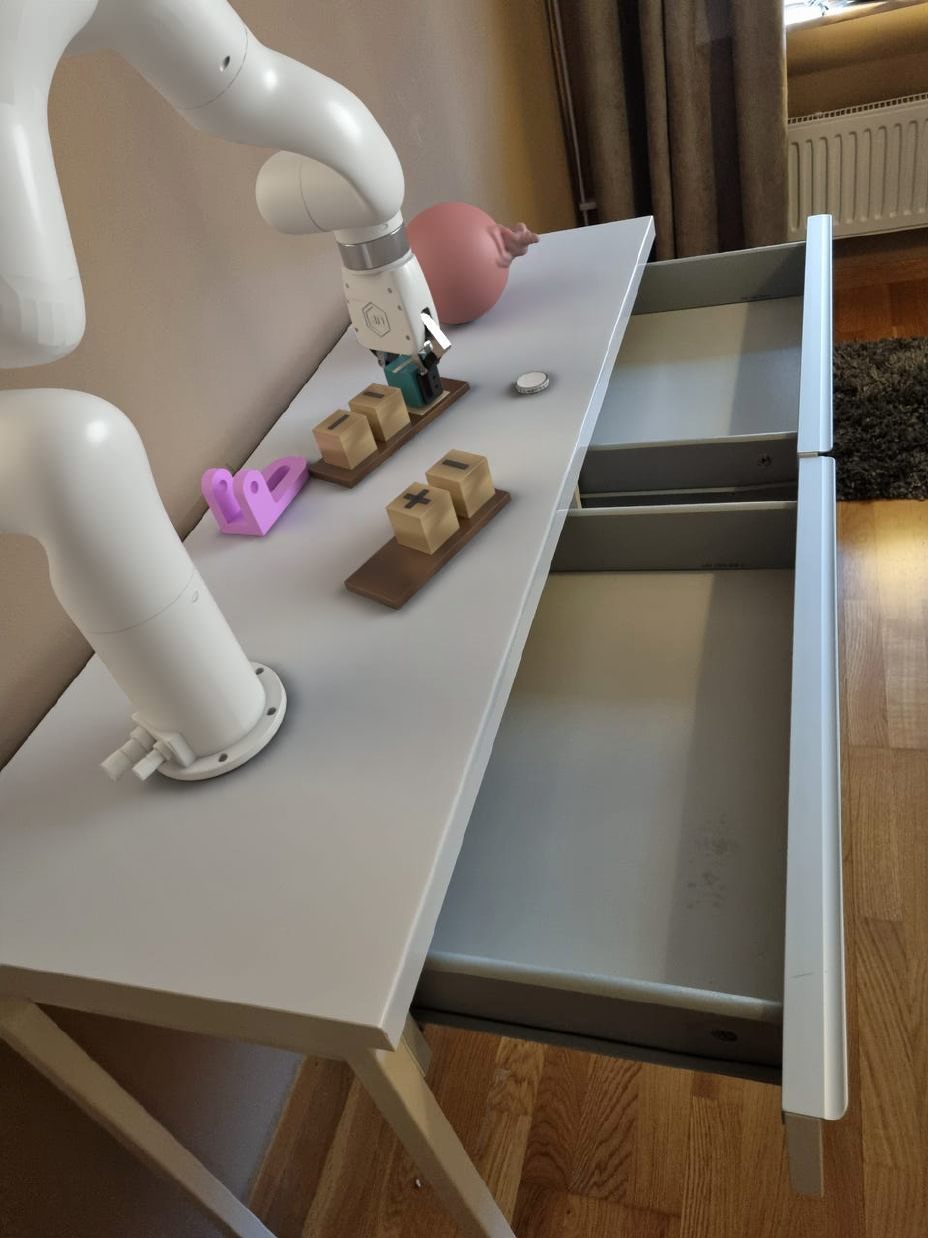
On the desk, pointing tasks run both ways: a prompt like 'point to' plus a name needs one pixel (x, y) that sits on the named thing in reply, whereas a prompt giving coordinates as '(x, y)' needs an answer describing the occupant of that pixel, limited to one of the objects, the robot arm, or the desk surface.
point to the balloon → (465, 257)
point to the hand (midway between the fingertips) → (418, 394)
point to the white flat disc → (532, 382)
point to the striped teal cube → (405, 379)
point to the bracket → (253, 494)
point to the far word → (373, 430)
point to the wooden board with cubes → (430, 527)
